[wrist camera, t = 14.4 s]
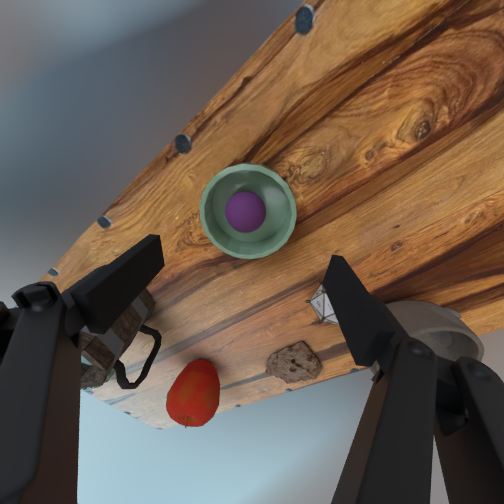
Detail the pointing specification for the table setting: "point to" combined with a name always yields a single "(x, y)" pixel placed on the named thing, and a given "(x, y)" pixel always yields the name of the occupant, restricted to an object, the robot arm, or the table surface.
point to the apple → (194, 394)
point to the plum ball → (245, 211)
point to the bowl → (436, 330)
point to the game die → (323, 306)
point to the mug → (117, 345)
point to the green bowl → (274, 198)
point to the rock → (294, 364)
